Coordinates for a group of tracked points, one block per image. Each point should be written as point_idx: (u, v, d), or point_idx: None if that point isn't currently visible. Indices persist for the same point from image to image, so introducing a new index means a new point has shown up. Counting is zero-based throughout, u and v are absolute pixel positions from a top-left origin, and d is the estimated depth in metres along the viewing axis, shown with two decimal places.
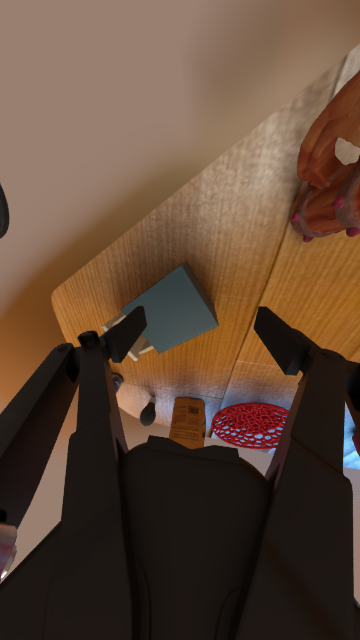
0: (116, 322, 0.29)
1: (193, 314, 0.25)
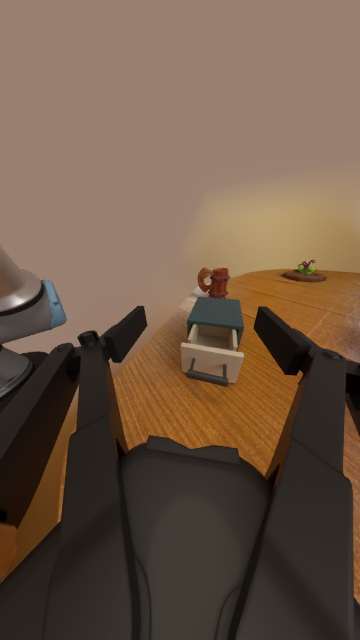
0: (190, 335, 0.29)
1: (224, 302, 0.40)
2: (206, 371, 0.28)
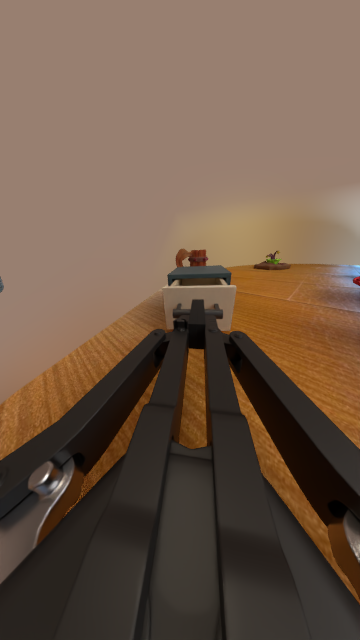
0: (173, 283, 0.25)
1: (206, 267, 0.37)
2: None
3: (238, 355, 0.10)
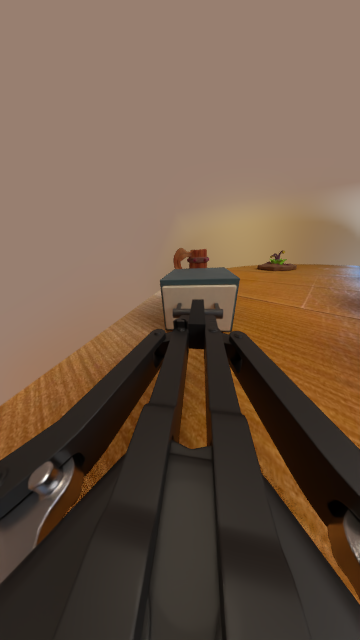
0: None
1: (207, 269, 0.31)
2: None
3: (238, 355, 0.10)
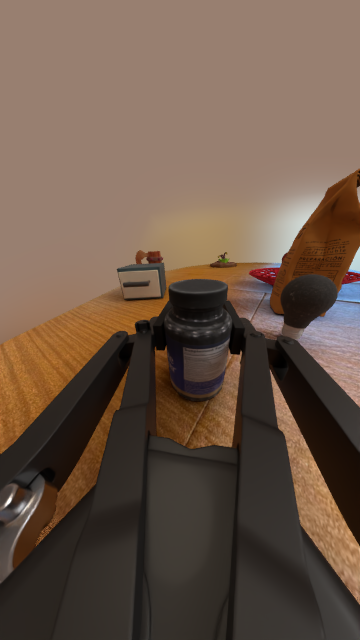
0: (126, 271, 0.43)
1: None
2: (140, 291, 0.41)
3: (284, 362, 0.09)
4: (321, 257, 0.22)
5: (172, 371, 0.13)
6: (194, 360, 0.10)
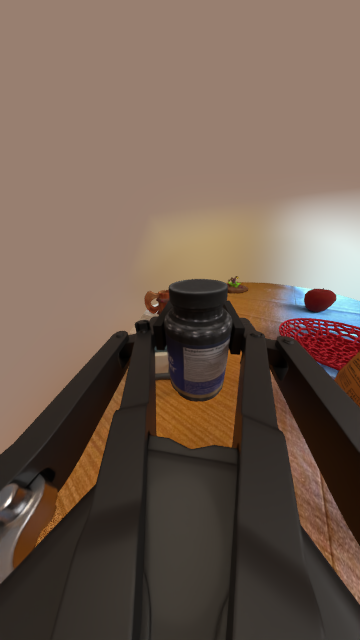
0: None
1: None
2: (158, 373, 0.34)
3: (284, 362, 0.09)
4: None
5: (172, 371, 0.13)
6: (194, 360, 0.10)
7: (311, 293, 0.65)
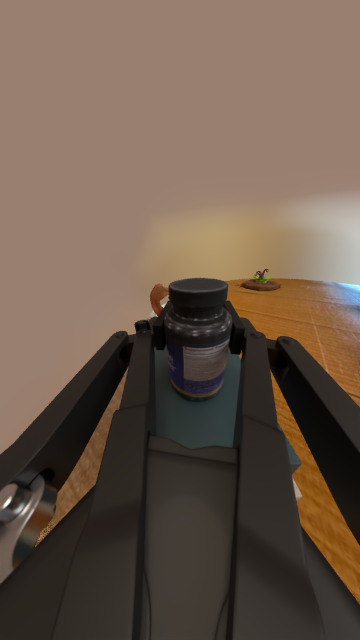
0: None
1: None
2: None
3: (284, 362, 0.09)
4: None
5: (172, 370, 0.13)
6: (193, 359, 0.10)
7: None
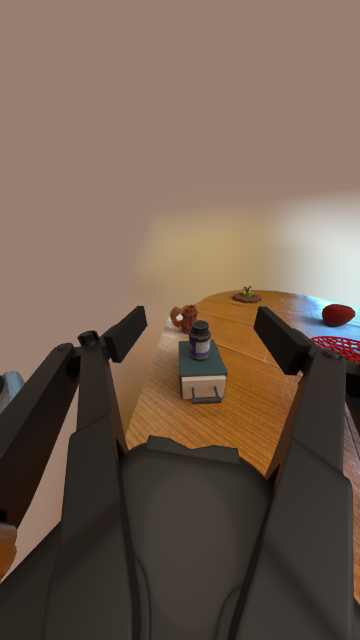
0: None
1: None
2: (202, 394, 0.37)
3: None
4: None
5: (191, 350, 0.39)
6: (199, 346, 0.36)
7: (330, 309, 0.67)
